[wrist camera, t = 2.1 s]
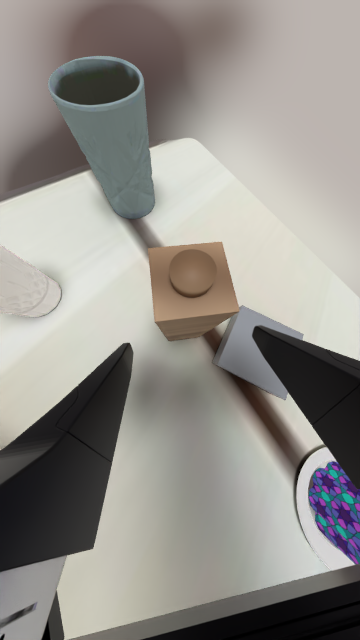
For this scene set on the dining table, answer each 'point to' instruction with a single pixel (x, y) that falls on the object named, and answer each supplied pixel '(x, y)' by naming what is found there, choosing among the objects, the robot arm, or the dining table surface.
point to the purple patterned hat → (330, 511)
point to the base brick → (250, 351)
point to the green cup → (109, 127)
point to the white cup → (25, 287)
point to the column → (191, 289)
